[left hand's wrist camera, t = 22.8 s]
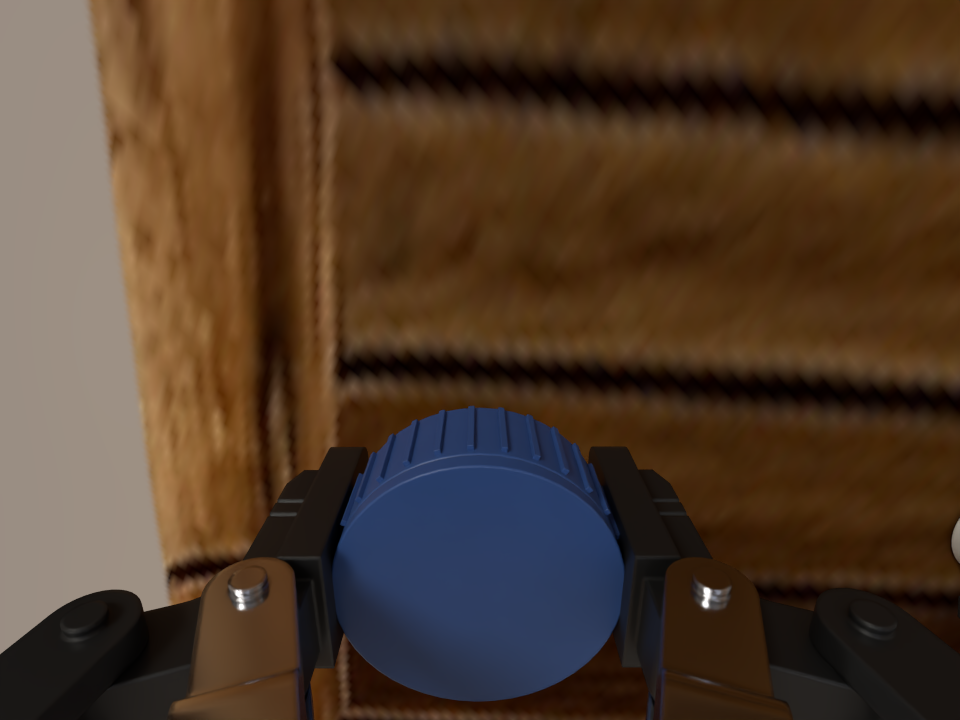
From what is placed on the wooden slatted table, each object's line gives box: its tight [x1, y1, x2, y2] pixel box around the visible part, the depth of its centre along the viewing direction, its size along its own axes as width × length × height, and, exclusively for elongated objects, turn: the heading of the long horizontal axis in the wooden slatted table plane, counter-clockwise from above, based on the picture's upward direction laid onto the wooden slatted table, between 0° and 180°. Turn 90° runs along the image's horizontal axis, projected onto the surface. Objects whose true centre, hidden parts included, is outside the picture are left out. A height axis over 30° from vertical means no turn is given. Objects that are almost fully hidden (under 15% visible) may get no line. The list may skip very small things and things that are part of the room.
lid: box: [332, 406, 625, 701], centre depth 10 cm, size 5×5×2 cm
